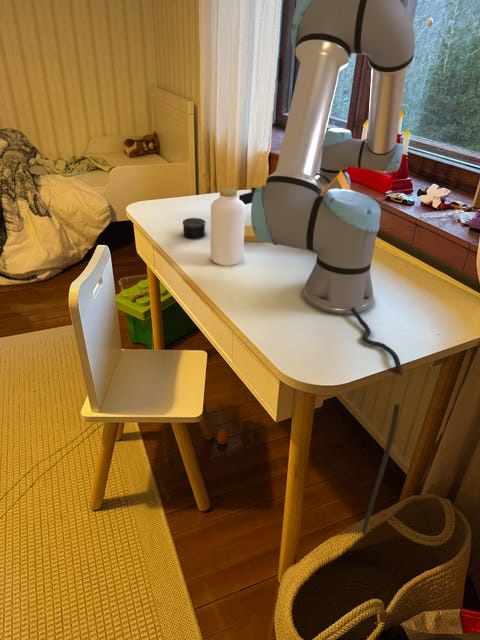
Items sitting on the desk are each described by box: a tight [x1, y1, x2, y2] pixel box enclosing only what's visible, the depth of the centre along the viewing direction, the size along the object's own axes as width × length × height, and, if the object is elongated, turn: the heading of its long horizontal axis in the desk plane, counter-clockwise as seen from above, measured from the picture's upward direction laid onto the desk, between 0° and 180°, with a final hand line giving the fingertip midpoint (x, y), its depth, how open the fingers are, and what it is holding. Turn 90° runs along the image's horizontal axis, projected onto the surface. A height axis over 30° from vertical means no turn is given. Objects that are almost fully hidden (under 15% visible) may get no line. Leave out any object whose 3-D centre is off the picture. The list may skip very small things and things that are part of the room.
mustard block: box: [244, 225, 262, 242], centre depth 137 cm, size 8×6×2 cm
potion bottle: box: [210, 187, 246, 267], centre depth 118 cm, size 8×8×18 cm
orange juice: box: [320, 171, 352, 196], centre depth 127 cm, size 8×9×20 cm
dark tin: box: [182, 217, 206, 240], centre depth 135 cm, size 6×6×4 cm
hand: (258, 207), depth 123 cm, fingers open, 13 cm apart
